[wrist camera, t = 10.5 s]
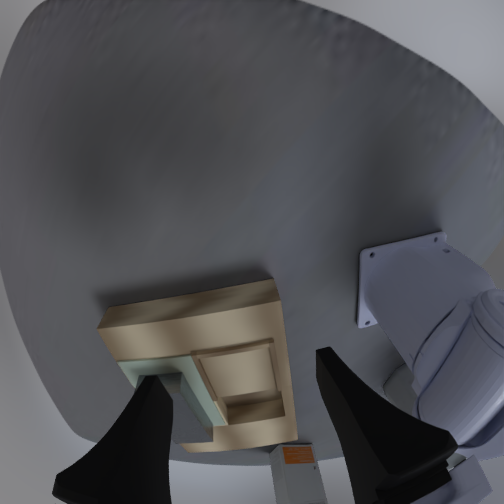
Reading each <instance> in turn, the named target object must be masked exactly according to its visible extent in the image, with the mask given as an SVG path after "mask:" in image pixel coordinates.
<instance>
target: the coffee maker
mask: <svg viewBox="0 0 504 504" xmlns="http://www.w3.org/2000/svg"><path fill="white" fill-rule="evenodd" d="M413 381H414V375H413V373H412V372H411V370H410V369H409V367H408V366H407V364H406V363H405V364H403V365H402V366H400V367H399V368H397V369H396V370H395V371H394V372H393V374H392V375H391V376H390V378H389V379H388V380H387V382H386V383H385V384H384V386H383V389H384V392H385V395H386V397H387V398H388V399H389V401H390V402H391V403H392V404H393V405H394V406H396V407H397V408H399V409H400V410H402V411H404V412H406V413H408V414H410V415H412V409H413V404H414V402H415V400H416V398H417V394H416V393H415V391H414V389H413V388H412V386H411V385H412V383H413ZM466 458H467V457H465V456H463V455H461V454H458V453H453V454H452V455H451V456H450V457H449V458H448V459H447V462H448V464H449V466H448V467H447V469H450V468H452V467H454V468H455V467H456V466H458V465H459V464H461V463H462V462H464V461H465V460H466Z"/></svg>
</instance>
